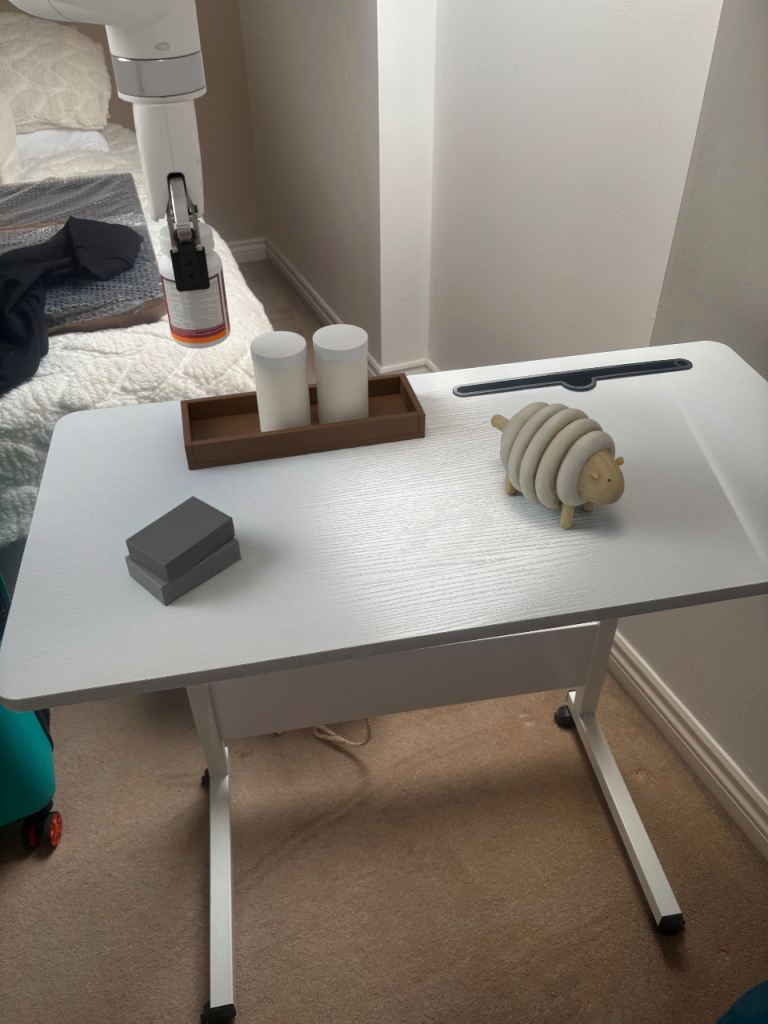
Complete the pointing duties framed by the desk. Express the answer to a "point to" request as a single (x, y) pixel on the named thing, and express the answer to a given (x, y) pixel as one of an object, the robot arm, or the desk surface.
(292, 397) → the white bottle
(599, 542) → the desk surface
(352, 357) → the white bottle
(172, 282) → the pill bottle
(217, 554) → the grey books
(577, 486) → the toy sheep
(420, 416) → the tray
